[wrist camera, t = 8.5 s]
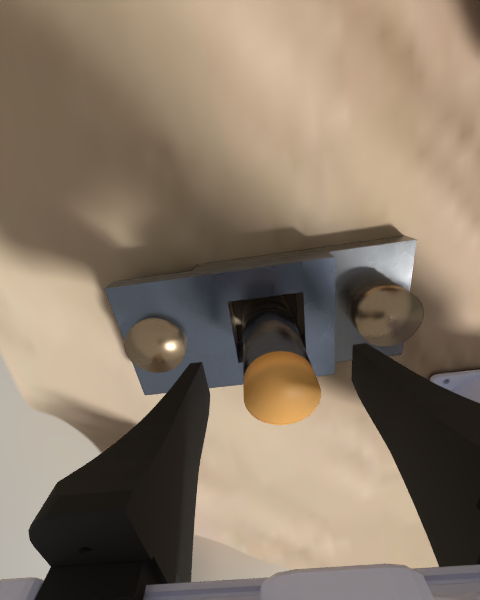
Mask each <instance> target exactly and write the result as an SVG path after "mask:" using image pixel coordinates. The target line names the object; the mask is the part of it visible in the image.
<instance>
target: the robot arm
mask: <svg viewBox="0 0 480 600" xmlns="http://www.w3.org/2000/svg"><path fill="white" fill-rule="evenodd" d="M352 381H353V384H354V386H355V389H356V391H357V393H358V396H359V398H360V400H361V402H362V404H363V405H364V407H365V409H366V410H367V412H368V414H369V416H370V417H371V419H372V421H373V423H374V424H375V426H376V428H377V429H378V431H379V433H380V434H381V436H382V438H383V440H384V441H385V443H386V445H387V447H388V449H389V450H390V452H391V454H392V456H393V458H394V461H395V463H396V465H397V467H398V469H399V471H400V474H401V476H402V478H403V480H404V482H405V485H406V487H407V489H408V491H409V494H410V496H411V498H412V500H413V503H414V505H415V507H416V510H417V512H418V515H419V517H420V519H421V522H422V524H423V527H424V529H425V531H426V534H427V536H428V539H429V541H430V544H431V547H432V549H433V552H434V554H435V557H436V559H437V562H438V564H439V567H432V568H416V569H411V568H409V567H407V566H405V565H396V564H373V565H358V566H342V567H326V568H310V569H294V570H289V571H284V572H279V573H276V574H274V575H273V576H271V577H269V578H253V579H238V580H222V581H204V582H191V569H192V550H193V534H194V518H195V506H196V493H197V483H198V472H199V465H200V459H201V453H202V448H203V443H204V438H205V432H206V427H207V422H208V416H209V405H210V392H209V388H208V384H207V379H206V375H205V371H204V367H203V363H202V362H197V363H190V364H189V365H188V366H187V368H186V369H185V370H184V372H183V373H182V374H181V376H180V377H179V378H178V379H177V381H176V382H175V383H174V385H173V386H172V387H171V388H170V390H169V391H168V392H167V393H166V395H165V396H164V397H163V398H162V399H161V400H160V401H159V403H158V404H157V405H156V406H155V407H154V408H153V409H152V410H151V411H150V412H149V413H148V414H147V415H146V416H145V417H144V418H143V419H142V420H141V421H140V422H139V423H138V424H137V425H136V426H135V427H134V428H133V429H131V430H130V431H129V432H128V433H127V434H125V435H124V436H123V437H122V438H121V439H120V440H118V441H117V442H116V443H115V444H113V445H112V446H111V447H109V448H108V449H107V450H105V451H104V452H103V453H101V454H100V455H99V456H97V457H96V458H95V459H93V460H92V461H90V462H89V463H87V464H86V465H84V466H83V467H81V468H79V469H78V470H76V471H75V472H73V473H72V474H70V475H69V476H67V477H65V478H64V479H62V480H60V481H59V482H57V484H56V485H55V487H54V489H53V490H52V492H51V494H50V495H49V497H48V498H47V500H46V502H45V503H44V505H43V507H42V508H41V510H40V511H39V513H38V514H37V516H36V518H35V519H34V521H33V522H32V524H31V526H30V529H29V537H30V541H31V543H32V544H33V546H34V547H35V548H36V550H38V552H39V553H40V554H41V555H42V557H43V558H44V559H45V560H46V561H47V562H48V564H49V565H50V566H51V568H50V570H49V572H48V574H47V576H46V578H45V580H44V581H43V580H41V579H38V578H16V579H2V580H0V600H480V369H479V370H470V371H461V372H452V373H443V374H436V375H433V376H432V377H431V378H430V381H429V380H427V379H426V378H424V377H422V376H420V375H418V374H416V373H414V372H413V371H411V370H409V369H408V368H406V367H404V366H402V365H401V364H399V363H397V362H396V361H394V360H393V359H391V358H389V357H388V356H386V355H385V354H383V353H381V352H380V351H378V350H377V349H375V348H373V347H372V346H370V345H368V344H367V343H363V344H354V345H353V352H352Z"/></svg>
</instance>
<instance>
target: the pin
mask: <svg viewBox="0 0 480 600" xmlns="http://www.w3.org/2000/svg"><path fill="white" fill-rule="evenodd" d="M242 317H243V378H244V403H245V406H246V408H247V410H248V411H249V412H250V413H251V414H252V415H253V416H254V417H255V418H257V419H258V420H260V421H262V422H265V423H269V424H274V425H286V424H292V423H295V422H298V421H300V420H303V419H304V418H306V417H308V416H309V415H310V414H311V413H312V412H313V411H314V410H315V409H316V408H317V406H318V404H319V402H320V398H321V389H320V386H319V383H318V380H317V378H316V375H315V373H314V370H313V368H312V365H311V362H310V360H309V357H308V355H307V352H306V350H305V347H304V345H303V342H302V340H301V337H300V334H299V332H298V329H297V327H296V324H295V322H294V319H293V317H292V314H291V312H290V309H289V306H288V304H287V302H286V300H285V298H284V297H283V296H282V295H277V296H269V297H261V298H254V299H247V300H246V301H245V303H244V305H243V310H242Z"/></svg>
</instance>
